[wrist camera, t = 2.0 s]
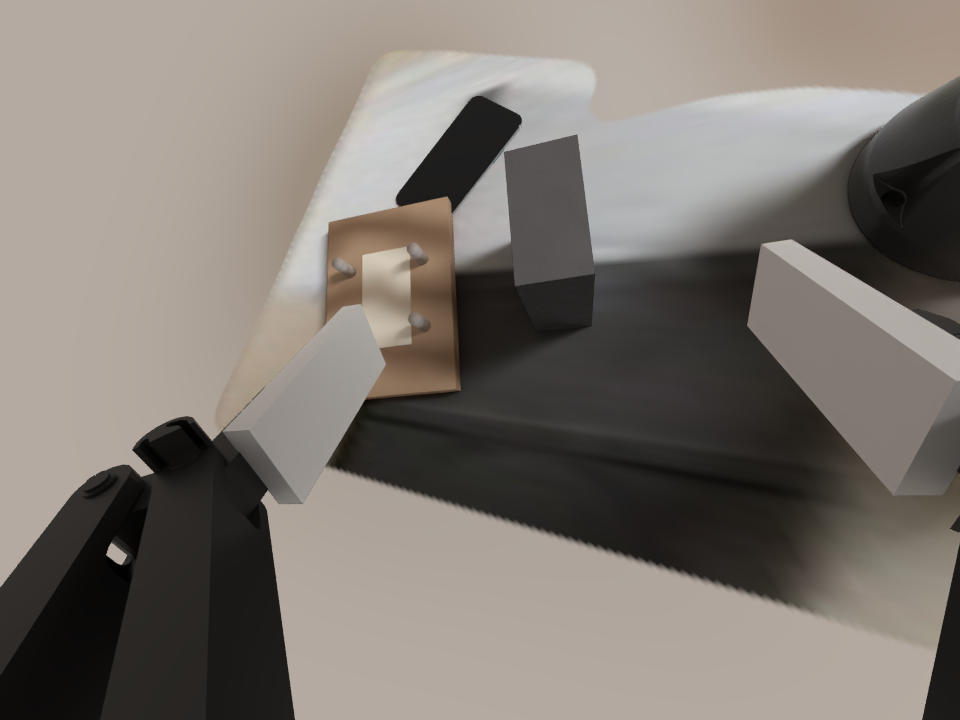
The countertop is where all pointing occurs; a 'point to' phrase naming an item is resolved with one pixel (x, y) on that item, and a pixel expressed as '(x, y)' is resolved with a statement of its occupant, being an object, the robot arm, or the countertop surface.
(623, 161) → the countertop surface
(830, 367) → the robot arm
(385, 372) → the dock
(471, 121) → the smartphone
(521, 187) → the block
